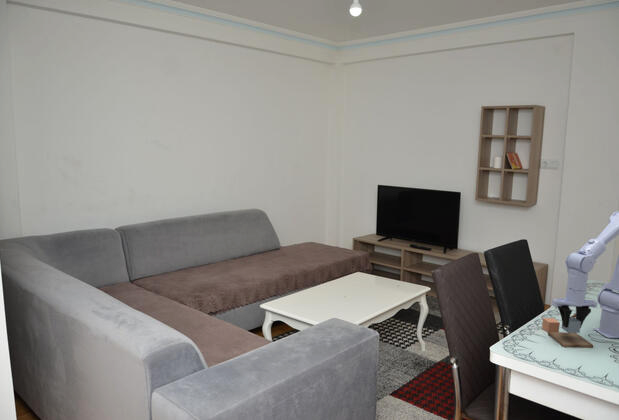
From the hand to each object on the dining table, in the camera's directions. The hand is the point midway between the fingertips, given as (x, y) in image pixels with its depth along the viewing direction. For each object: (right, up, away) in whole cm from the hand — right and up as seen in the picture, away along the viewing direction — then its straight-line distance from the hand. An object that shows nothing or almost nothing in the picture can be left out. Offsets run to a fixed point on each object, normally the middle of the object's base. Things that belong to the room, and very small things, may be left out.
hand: (571, 326), depth 160 cm
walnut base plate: (0, -5, +1) cm, 5 cm away
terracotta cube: (-2, -4, +10) cm, 11 cm away
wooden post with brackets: (+13, -3, +21) cm, 25 cm away
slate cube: (0, -1, +1) cm, 2 cm away
